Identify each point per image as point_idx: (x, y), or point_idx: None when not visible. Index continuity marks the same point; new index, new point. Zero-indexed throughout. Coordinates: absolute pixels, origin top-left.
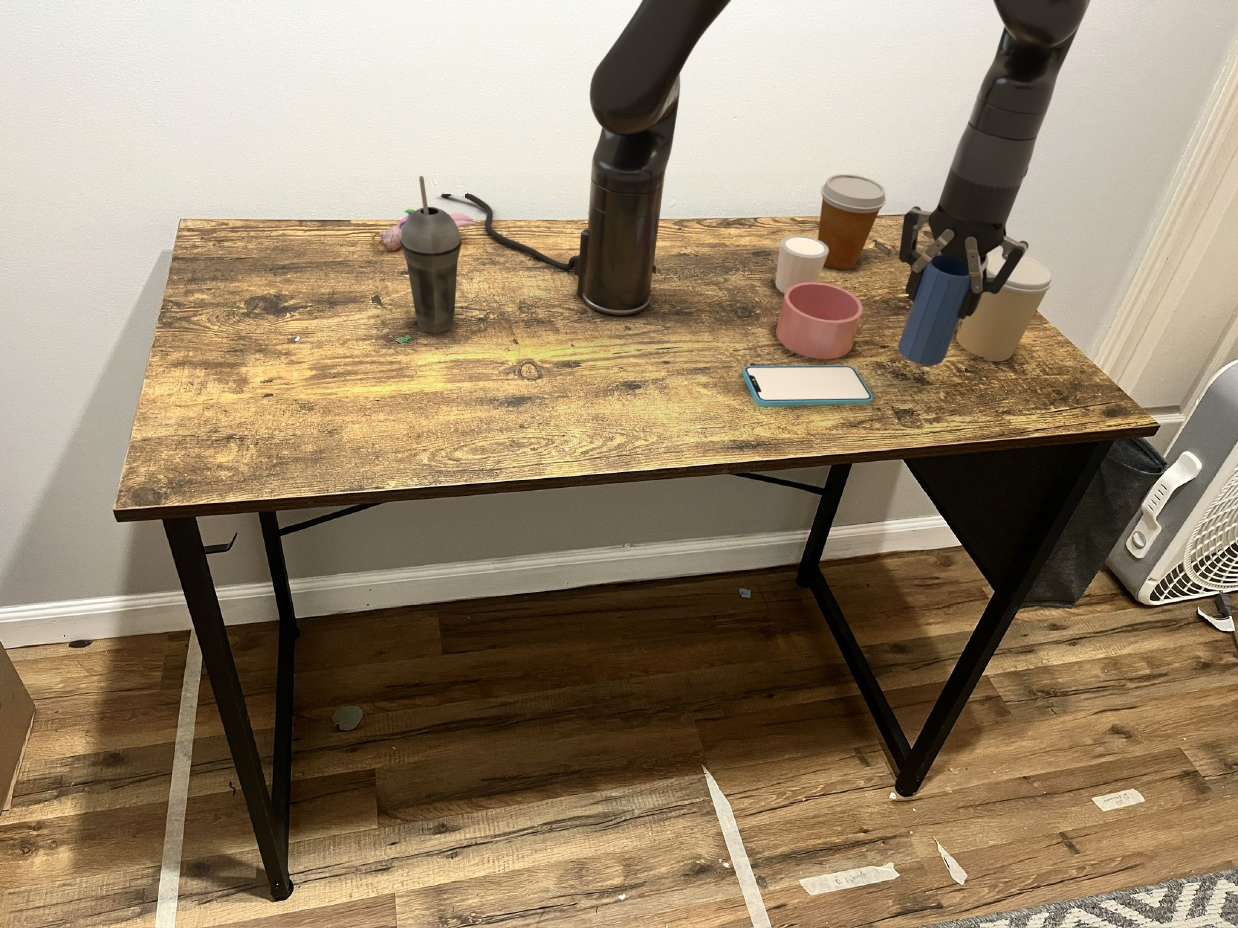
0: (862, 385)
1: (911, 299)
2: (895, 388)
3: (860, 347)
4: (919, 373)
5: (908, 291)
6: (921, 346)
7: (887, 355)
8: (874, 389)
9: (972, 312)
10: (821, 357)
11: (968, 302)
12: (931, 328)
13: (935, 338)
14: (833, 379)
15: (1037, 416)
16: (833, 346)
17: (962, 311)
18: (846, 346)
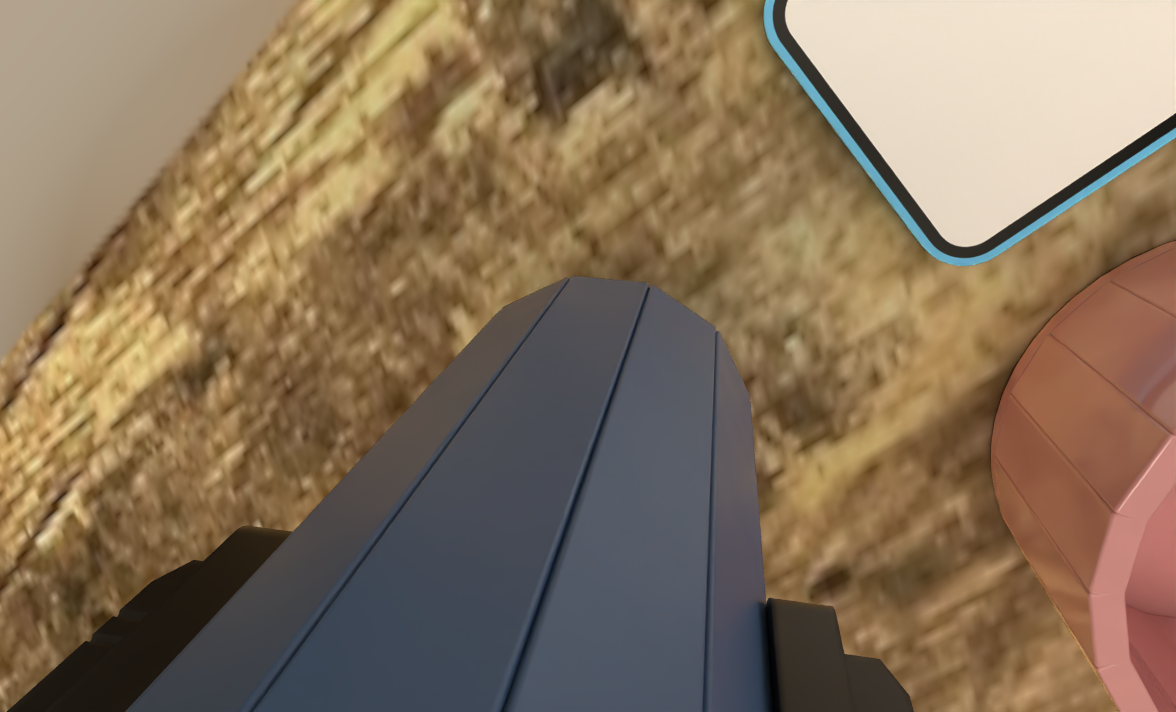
0: (851, 113)
1: (791, 605)
2: (680, 258)
3: (944, 519)
4: None
5: (862, 679)
6: (575, 315)
7: (795, 522)
8: (778, 179)
9: (155, 592)
10: (1158, 260)
11: (140, 640)
12: (511, 370)
13: (478, 356)
14: (1038, 51)
15: (97, 421)
16: (1138, 315)
17: (238, 564)
18: (1045, 392)
